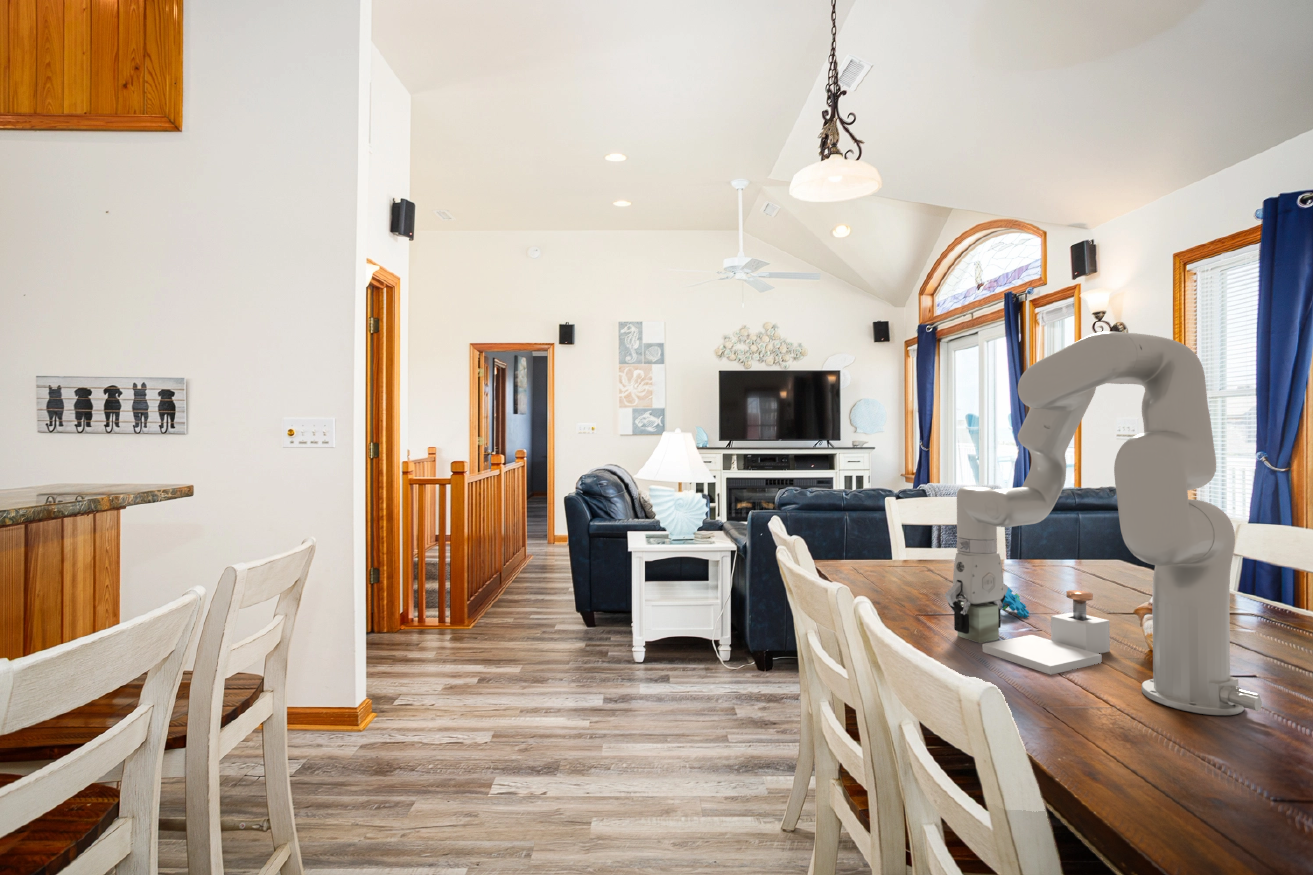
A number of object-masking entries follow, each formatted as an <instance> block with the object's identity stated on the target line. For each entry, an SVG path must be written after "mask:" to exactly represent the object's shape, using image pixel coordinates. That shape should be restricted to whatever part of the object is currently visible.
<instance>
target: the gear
mask: <svg viewBox="0 0 1313 875" xmlns="http://www.w3.org/2000/svg"><path fill="white" fill-rule="evenodd" d="M1012 592H1013V590H1012V589H1011V588H1010V587H1009V586H1008V590H1007V593H1006V595H1005V600H1004V601H1003V603H1002V604H1003V607H1002V608H1001V609H1000V611H1001V610H1004V611H1005V610H1006V609H1008V608H1009V609H1010V610H1011V611H1012V612H1014V611H1016V615H1017V616H1019V617H1020V618H1022V617H1023V618H1024V619H1027V618H1028V617H1029V616H1030V615H1029V614H1030V611H1029V610H1028V609H1027V606H1026V604H1025V603H1024V602H1022V601H1021V598H1020V595H1019V594H1018V593H1015V594H1013V593H1012Z"/></svg>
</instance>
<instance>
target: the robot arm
mask: <svg viewBox="0 0 1313 875" xmlns="http://www.w3.org/2000/svg"><path fill="white" fill-rule="evenodd" d="M1205 376H1206V375H1205V371H1204V367H1203V364H1202V361H1201V360H1200V358H1199V357H1198V355H1197V354H1196V352H1194V350H1192V349H1191V348H1190V347H1189V346H1187V345H1185V344H1184V343H1181V342H1179V341H1177V340H1174V339H1172V338H1167V337H1163V336H1159V335H1151V334H1144V333H1135V332H1123V331H1114V330H1113V331H1101V332H1096V333H1092V334H1089V335H1087V336H1085V337H1083V338H1081V339H1079V340H1077V341H1074V342H1073V343H1071V344H1069V345H1067V346H1066V347H1063V348H1061V349H1059V350H1057V351H1055V352H1053V353H1052V354H1049V355H1047V356H1045V357H1044V358H1041V359H1040V360H1038V361H1036V362H1035V363H1033V364H1032V365H1030V366H1028V367H1027V369H1025V371H1024V372H1023V373H1022V375H1021V376H1020V378H1019V381H1018V384H1017V394H1018V397H1019V399H1020V401H1021V402H1022V403H1023V404H1024V405H1025V406H1026V407H1029V410H1028V412H1027V415H1026V417H1025V418H1024V421H1023V422H1022V424H1021V427H1020V428H1019V431H1018V433H1017V440H1018V442H1019V443H1020V445H1021V446H1022V447H1024V449H1026V450H1028V452H1029V454H1030V457H1031V463H1030V469H1029V471H1028V473H1027V476H1026V477H1025V480H1024V481H1023V484H1022V486H1020V487H1010V488H997V489H993V488H991V487H987V486H986V487H985V486H963V487H960V488H958V490H957V493H956V545H955V547H956V550H957V551H956V553H955V557H954V558H955V559H954V567H953V573H952V574H953V576H952V577H953V578H952V586H951V587H950V589H948V590H947V591H946V592H945V594H944V596H945V598H946V600H947V602H948V606H949V607H950V608H951V611H952V612H953V614H954V615H953V624H954V628H953V629H954V631H956V632H957V631H958V632H961V633H964V634H968V633H969V614H966V613H967V611H968V609H969V606H970V604H971V603H972V604H981V603H990V604H994V605H998V618H999V629H1000V628H1001V625H1002V624H1001V610H1002V609H1003V608H1002V607H1003V604H1002V603H1003V601H1004V600H1005V595H1006V593H1007V590H1008V587H1009V586H1008V585H1007V584H1005V583H1004V573H1003V572H1004V571H1003V565H1002V559H1001V554H1000V553H999V552H998V538H997V537H998V536H997V535H998V532H997V531H998V528H1011V527H1018V526H1026V525H1034V524H1038V523H1040V522H1042V521H1045V519H1046V518H1047V517H1048V516H1049V515H1050V513H1051V512H1052V510H1053V509H1054V507H1055V505H1056V503H1057V501H1058V499H1059V498H1060V496H1061V494H1062V491H1063V489H1064V487H1065V484H1066V479H1067V478H1066V477H1067V461H1066V460H1067V459H1066V451H1067V450H1068V447H1069V446H1070V444H1071V441H1072V440H1073V438H1074V436H1075V433H1076V432H1077V430H1078V428H1079V426H1080V424H1081V421H1082V420H1083V417H1084V416H1085V413H1086V412H1087V410H1088V408H1089V407H1090V406H1089V405H1090V404H1091V402H1092V401H1093V397H1094V395H1095V394H1096V390H1097V387H1100V386H1103V385H1106V384H1111V385H1112V384H1115V385H1116V384H1117V385H1139V386H1143V388H1144V394H1143V397H1142V402H1141V417H1142V423H1143V433H1138V434H1136V435H1133V436H1132V437H1130V438H1129V439H1127V440H1126V441H1125V442H1124V443H1123V444H1122V445H1121V446H1120V448H1119V449H1118V451H1117V454H1116V457H1115V460H1114V466H1113V470H1114V471H1113V473H1114V483H1115V484H1114V486H1115V493H1116V501H1117V503H1116V504H1117V509H1118V511H1117V513H1118V520H1119V526H1120V532H1121V535H1122V540H1123V542H1124V545H1125V546H1126V547H1127V549H1128V550H1129V551H1130V553H1131V554H1132V555H1133V556H1134V557H1136V558H1137V559H1139V560H1140V561H1141V562H1144V563H1147V564H1149V565H1153V566H1154V570H1153V574H1152V575H1153V576H1152V586H1151V587H1152V588H1151V589H1152V594H1151V595H1152V598H1151V600H1152V609H1151V610H1152V678H1151V679H1147V680H1144V681H1143V682H1142V683H1141V685H1140V686H1141V692H1142V694H1143V695H1145V697H1147V698H1148V699H1150V700H1152V701H1154V702H1155V703H1157V704H1160V705H1164V706H1167V707H1170V708H1173V709H1176V710H1181V711H1185V712H1188V713H1194V714H1201V715H1202V714H1203V715H1210V716H1232V715H1238V714H1241V713H1242V712H1244V711H1245V710H1244V708H1246V709H1248V710H1252V711H1256V712H1259V711H1260V710H1261V709H1262V706H1263V702H1262V699H1261V696H1260V694H1259V693H1256V692H1251V691H1249V690H1245V689H1242V688H1241V687H1240V686H1239V678H1237V677H1233V676H1231V640H1230V639H1231V636H1230V633H1231V631H1230V630H1231V628H1230V624H1231V623H1230V622H1231V621H1230V600H1231V598H1230V595H1231V594H1230V593H1231V592H1230V591H1231V590H1230V583H1231V582H1230V580H1231V570H1232V562H1233V557H1234V553H1235V552H1234V551H1235V545H1236V534H1235V528H1234V525H1233V523H1232V521H1231V519H1230V517H1229V516H1228V515H1227V513H1225V512H1224V510H1222V509H1221V508H1219V507H1218V506H1217V505H1214V504H1212V503H1211V502H1207V501H1203V500H1201V499H1189V493H1188V491H1192V490H1197V489H1200V488H1203V487H1205V486H1207V485H1208V484H1209V483H1210V482H1211V481H1212V480H1213V478H1214V477H1215V474H1216V471H1217V459H1216V451H1215V443H1214V436H1213V429H1212V419H1211V415H1210V410H1209V404H1208V395H1207V394H1208V392H1207V383H1206V377H1205ZM961 602H963V603H964V604H963V606H961V605H960V604H961ZM1001 608H1002V609H1001ZM1000 609H1001V610H1000Z"/></svg>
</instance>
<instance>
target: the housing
mask: <svg viewBox="0 0 1313 875" xmlns="http://www.w3.org/2000/svg"><path fill="white" fill-rule="evenodd" d="M963 604H964V603H963V602H961V604H960V605H961V606H963ZM966 614H969V633H968V634H964V633H961V632H958V631H956V632H957V637H959V638H960V637H961V638H963V639H967V640H969V639H970V640H969V641H972V640H973V642H975V641H976V642H975V643H978V644H981V643H982V644H983V643H989V642H994V641H999V640H1000V638H999V634H1000V633H999V631H1000V630H999V629H1000V628H999V618H998V605H994V604H990V603H981V604H972V603H971V604H970V606H969V609H968V611H967V613H966Z"/></svg>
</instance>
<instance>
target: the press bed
mask: <svg viewBox="0 0 1313 875" xmlns="http://www.w3.org/2000/svg"><path fill="white" fill-rule="evenodd" d="M1110 627H1111V626H1110V620H1109V619H1106V618H1100V617H1096V616H1093V615H1090V614H1089V615H1088V614H1086V620H1085V621H1080V620H1076V619H1073V611H1072V612H1068V613H1067V612H1066V613H1060V614H1055V615H1051V616H1050V634H1051V638H1050V639H1048V638H1045V637H1041V636H1038V635H1034V634H1029V635H1027V634H1026V635H1023V636H1018V637H1012V638H1007V639H1003V640H1002V639H1001V640H995V641H990V642H985V643H982V653H984V654H987V655H991V656H994V657H996V658H1000V659H1003V660H1006V661H1007V662H1008V661H1010V662H1012V663H1015V664H1018V665H1021V666H1024V667H1026V668H1030V669H1033V670H1036V671H1038V672H1041V673H1045V674H1047V675H1055V674H1060V673H1063V672H1068V671H1073V670H1078V669H1082V668H1085V667H1090V666H1094V664H1095V665H1099V664H1102V663H1101V662H1103V660H1102V659H1103V658H1102V656H1103V655H1102V654H1104V653H1109V652H1110V651H1111V650H1110V649H1111V648H1110V646H1111V644H1110V642H1111V640H1110V638H1111V635H1110V634H1111V633H1110V630H1111V629H1110ZM1099 653H1100V654H1099ZM1098 663H1099V664H1098ZM1077 668H1078V669H1077ZM1072 669H1073V670H1072Z"/></svg>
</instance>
